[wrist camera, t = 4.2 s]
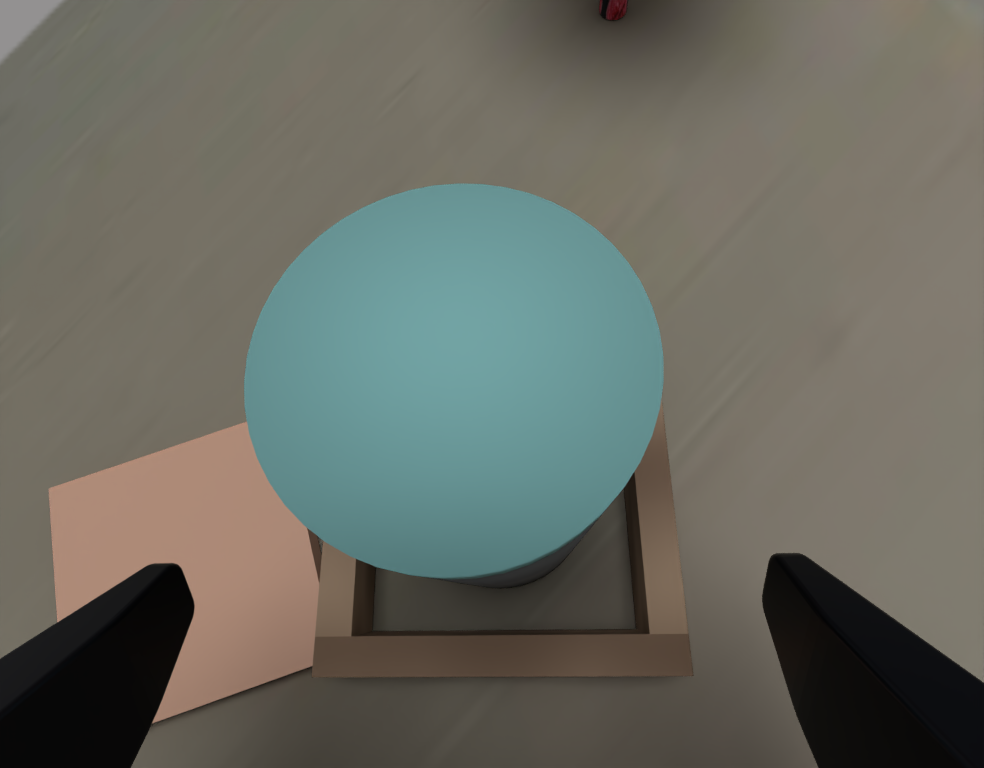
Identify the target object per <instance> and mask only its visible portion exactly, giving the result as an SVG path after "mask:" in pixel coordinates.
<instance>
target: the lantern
mask: <svg viewBox="0 0 984 768" xmlns="http://www.w3.org/2000/svg"><path fill="white" fill-rule="evenodd" d="M627 4H628V0H600V6H599V11H600V15H601V16H602V17H603V18H605V19H608V20H618V19H620V18H621V17H623V16H624V15H625V13H626V11H627Z"/></svg>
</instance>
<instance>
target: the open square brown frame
mask: <svg viewBox="0 0 984 768" xmlns="http://www.w3.org/2000/svg"><path fill="white" fill-rule="evenodd" d="M624 495H625V506H626V518H627V529H628V541H629V552H630V564H631V575H632V586H633V598H634V609H635V621H636V629H599V630H477V631H372V625H373V607H374V588H375V569H376V567H375V566H373V565H370V564H368V563H365V562H363V561H360V560H358V559H355V558H353V557H350V556H349V555H347V554H345V553H343V552H342V551H340V550H338V549H336V548H335V547H333V546H331V545H329V544H328V543H326V542H325V541H323V546H322V558H321V570H320V582H319V595H318V607H317V619H316V631H315V643H314V655H313V667H312V677H582V676H693V668H692V660H691V651H690V642H689V633H688V625H687V616H686V607H685V599H684V590H683V581H682V572H681V564H680V555H679V546H678V537H677V529H676V520H675V511H674V502H673V494H672V485H671V476H670V468H669V459H668V450H667V441H666V433H665V424H664V415H663V406H662V398H661V404H660V410H659V414H658V417H657V421H656V424H655V428H654V431H653V435H652V437H651V439H650V442H649V444H648V446H647V448H646V451H645V453H644V455H643V457H642V460H641V462H640V463H639V465H638V467H637V468H636V470H635V471H634V473H633V474H632V476H631V478H630V479H629V481H628V482H627V484H626V486H625V487H624Z"/></svg>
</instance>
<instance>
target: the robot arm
mask: <svg viewBox="0 0 984 768" xmlns="http://www.w3.org/2000/svg"><path fill="white" fill-rule="evenodd" d="M762 603H763V609H764V613H765V616H766V620H767V623H768V626H769V629H770V633H771V636H772V639H773V642H774V645H775V649H776V652H777V655H778V658H779V662H780V665H781V668H782V671H783V675H784V678H785V681H786V684H787V687H788V691H789V694H790V697H791V700H792V703H793V706H794V709H795V712H796V715H797V717H798V720H799V722H800V725H801V727H802V730H803V732H804V735H805V737H806V740H807V742H808V744H809V747H810V749H811V751H812V754H813V756H814V758H815V761H816V763H817V765H818V768H984V683H983V682H982V681H981V680H979V679H978V678H976V677H975V676H974V675H972V674H971V673H969V672H968V671H967V670H965V669H964V668H962V667H961V666H960V665H958V664H957V663H955V662H954V661H953V660H951V659H950V658H948V657H947V656H946V655H944V654H943V653H941V652H940V651H939V650H937V649H936V648H934V647H933V646H931V645H930V644H929V643H927V642H926V641H924V640H923V639H922V638H920V637H919V636H917V635H916V634H915V633H913V632H912V631H910V630H909V629H908V628H906V627H905V626H903V625H902V624H901V623H899V622H898V621H896V620H895V619H894V618H892V617H891V616H889V615H888V614H887V613H885V612H884V611H882V610H881V609H880V608H878V607H877V606H875V605H874V604H873V603H871V602H870V601H868V600H867V599H865V598H864V597H863V596H861V595H860V594H858V593H857V592H856V591H854V590H853V589H851V588H850V587H849V586H847V585H846V584H844V583H843V582H842V581H840V580H839V579H837V578H836V577H835V576H833V575H832V574H830V573H829V572H828V571H826V570H825V569H823V568H822V567H821V566H819V565H818V564H816V563H815V562H814V561H812V560H811V559H809V558H808V557H806V556H805V555H803V554H800V553H776V554H773V555H772V556H771V557H770V560H769V563H768V568H767V573H766V578H765V583H764V588H763V594H762ZM194 609H195V605H194V599H193V596H192V594H191V591H190V589H189V586H188V583H187V581H186V578H185V575H184V573H183V570H182V568H181V567H180V566H179V565H178V564H175V563H154V564H150V565H147V566H146V567H144V568H142V569H141V570H139V571H138V572H136V573H134V574H133V575H131V576H130V577H128V578H127V579H125V580H123V581H122V582H120V583H119V584H117V585H116V586H114V587H112V588H111V589H109V590H108V591H106V592H105V593H103V594H101V595H100V596H98V597H97V598H95V599H94V600H92V601H90V602H89V603H87V604H86V605H84V606H83V607H81V608H79V609H78V610H76V611H75V612H73V613H71V614H70V615H68V616H67V617H65V618H64V619H62V620H60V621H59V622H57V623H56V624H54V625H53V626H51V627H49V628H48V629H46V630H45V631H43V632H42V633H40V634H38V635H37V636H35V637H34V638H32V639H31V640H29V641H27V642H26V643H24V644H23V645H21V646H20V647H18V648H16V649H15V650H13V651H12V652H10V653H8V654H7V655H5V656H4V657H2V658H1V659H0V768H131V766H132V764H133V762H134V760H135V758H136V756H137V754H138V752H139V750H140V748H141V745H142V743H143V741H144V739H145V737H146V735H147V733H148V731H149V729H150V727H151V724H152V722H153V720H154V718H155V716H156V714H157V711H158V709H159V706H160V704H161V701H162V699H163V696H164V694H165V691H166V688H167V686H168V683H169V680H170V678H171V675H172V672H173V670H174V667H175V664H176V662H177V659H178V656H179V654H180V651H181V648H182V646H183V643H184V640H185V638H186V635H187V632H188V630H189V627H190V624H191V622H192V619H193V616H194Z"/></svg>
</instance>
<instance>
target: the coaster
mask: <svg viewBox="0 0 984 768" xmlns="http://www.w3.org/2000/svg"><path fill="white" fill-rule="evenodd" d="M49 502H50V517H51V532H52V547H53V562H54V577H55V592H56V607H57V622H59V621H60V620H62V619H64V618H65V617H67V616H68V615H70V614H71V613H73V612H75V611H76V610H78V609H79V608H81V607H83V606H84V605H86V604H87V603H89V602H90V601H92V600H94V599H95V598H97V597H98V596H100V595H101V594H103V593H105V592H106V591H108V590H109V589H111V588H112V587H114V586H116V585H117V584H119V583H120V582H122V581H123V580H125V579H127V578H128V577H130V576H131V575H133V574H134V573H136V572H138V571H139V570H141V569H142V568H144V567H146V566H147V565H150V564H154V563H175V564H178V565H179V566H180V567H181V568H182V570H183V573H184V575H185V578H186V581H187V583H188V586H189V589H190V591H191V594H192V596H193V599H194V605H195V609H194V616H193V619H192V622H191V624H190V627H189V630H188V632H187V635H186V638H185V640H184V643H183V646H182V648H181V651H180V654H179V656H178V659H177V662H176V664H175V667H174V670H173V672H172V675H171V678H170V680H169V683H168V686H167V688H166V691H165V694H164V696H163V699H162V701H161V704H160V706H159V709H158V711H157V714H156V716H155V718H154V720H153V722H152V724H153V723H156V722H158V721H161V720H164V719H167V718H169V717H172V716H175V715H178V714H181V713H183V712H186V711H189V710H192V709H194V708H197V707H200V706H203V705H206V704H208V703H211V702H214V701H217V700H219V699H222V698H225V697H228V696H231V695H233V694H236V693H239V692H242V691H244V690H247V689H250V688H253V687H256V686H258V685H261V684H264V683H267V682H269V681H272V680H275V679H278V678H281V677H283V676H286V675H289V674H292V673H294V672H297V671H300V670H303V669H306V668H308V667H311V666H313V655H314V643H315V631H316V619H317V607H318V595H319V582H320V570H321V558H322V555H321V551H320V546H319V542H318V538H317V535H316V534H314V533H313V532H312V531H311V530H309V529H308V528H307V527H306V526H304V525H303V524H302V523H301V522H300V521H299V520H298V519H297V517H296V516H295V515H294V514H293V513H292V512H291V511H290V510H289V509H288V508H287V507H286V506H285V505H284V503H283V502H282V500H281V499H280V498H279V496H278V495H277V493H276V492H275V490H274V489H273V487H272V486H271V485H270V483H269V481H268V479H267V477H266V475H265V473H264V471H263V469H262V467H261V465H260V463H259V461H258V459H257V456H256V453H255V450H254V447H253V444H252V441H251V438H250V435H249V430H248V424H247V422H244V423H241V424H238V425H235V426H232V427H230V428H227V429H224V430H221V431H218V432H215V433H212V434H209V435H206V436H203V437H200V438H197V439H194V440H191V441H188V442H185V443H182V444H179V445H176V446H173V447H170V448H167V449H164V450H161V451H158V452H156V453H153V454H150V455H147V456H144V457H141V458H138V459H135V460H132V461H129V462H126V463H123V464H120V465H117V466H114V467H111V468H108V469H105V470H102V471H99V472H96V473H93V474H90V475H87V476H84V477H82V478H79V479H76V480H73V481H70V482H67V483H64V484H61V485H58V486H55V487H52V488H49Z"/></svg>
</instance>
